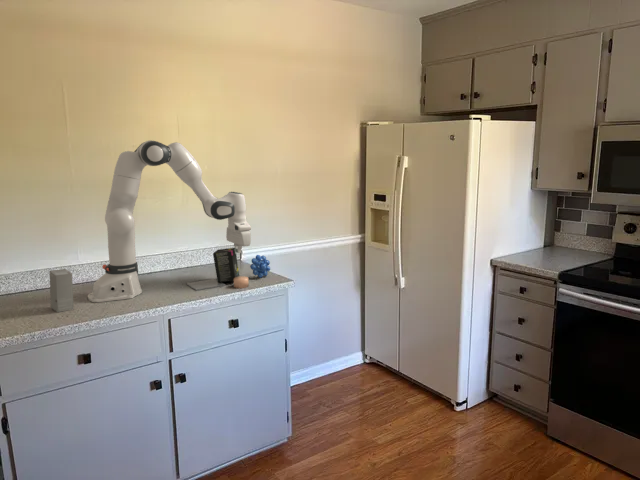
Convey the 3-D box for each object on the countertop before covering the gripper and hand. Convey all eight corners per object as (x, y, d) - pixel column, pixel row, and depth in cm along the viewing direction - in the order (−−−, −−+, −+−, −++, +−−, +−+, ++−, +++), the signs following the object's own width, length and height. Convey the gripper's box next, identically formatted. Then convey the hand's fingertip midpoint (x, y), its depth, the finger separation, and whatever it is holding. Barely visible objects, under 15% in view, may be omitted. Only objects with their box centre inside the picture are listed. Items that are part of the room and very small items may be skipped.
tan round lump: (237, 289, 225) (237, 281, 225) (231, 285, 231) (231, 277, 230) (251, 286, 229) (251, 278, 229) (244, 283, 235) (244, 275, 234)
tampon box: (236, 280, 233) (231, 251, 231) (217, 282, 233) (212, 253, 231) (240, 275, 244) (235, 247, 242) (221, 277, 244) (217, 249, 242)
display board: (196, 290, 223) (196, 289, 223) (186, 284, 233) (186, 283, 233) (225, 285, 231) (225, 284, 231) (214, 279, 241) (214, 278, 241)
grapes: (255, 281, 238) (254, 257, 236) (248, 278, 243) (247, 255, 241) (275, 277, 246) (274, 254, 243) (267, 274, 251) (266, 252, 249)
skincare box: (50, 308, 199) (46, 270, 196) (69, 304, 204) (65, 267, 201) (57, 313, 193) (53, 274, 190) (76, 309, 198) (72, 271, 195)
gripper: (222, 222, 243) (223, 249, 246) (240, 228, 227) (241, 256, 230) (234, 221, 247) (235, 248, 250) (252, 226, 231) (253, 255, 233)
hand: (238, 252), depth 239 cm, fingers closed
